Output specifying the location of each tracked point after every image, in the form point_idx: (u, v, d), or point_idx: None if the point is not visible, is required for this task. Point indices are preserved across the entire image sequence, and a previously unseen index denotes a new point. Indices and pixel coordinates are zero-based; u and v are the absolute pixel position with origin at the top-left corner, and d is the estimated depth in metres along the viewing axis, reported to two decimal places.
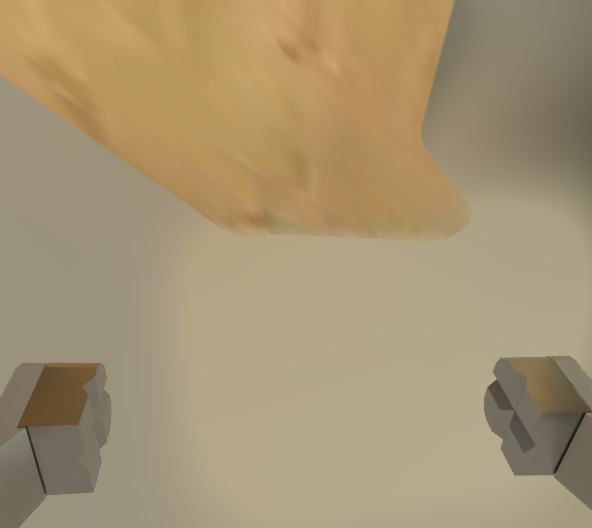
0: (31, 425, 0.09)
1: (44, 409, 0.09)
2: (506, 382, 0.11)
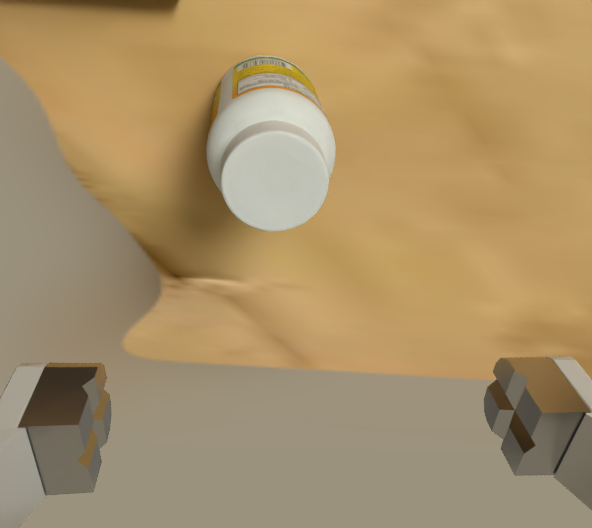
0: (31, 425, 0.09)
1: (44, 409, 0.09)
2: (506, 382, 0.11)
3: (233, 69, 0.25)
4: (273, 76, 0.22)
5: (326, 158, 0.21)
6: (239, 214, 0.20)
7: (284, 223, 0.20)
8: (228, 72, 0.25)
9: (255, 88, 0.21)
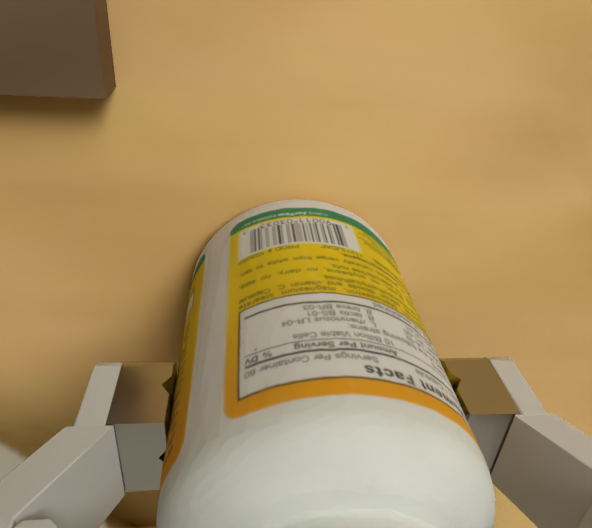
0: (118, 423, 0.09)
1: (128, 407, 0.09)
2: None
3: (230, 239, 0.12)
4: (329, 311, 0.09)
5: None
6: None
7: None
8: (220, 238, 0.12)
9: (288, 387, 0.07)
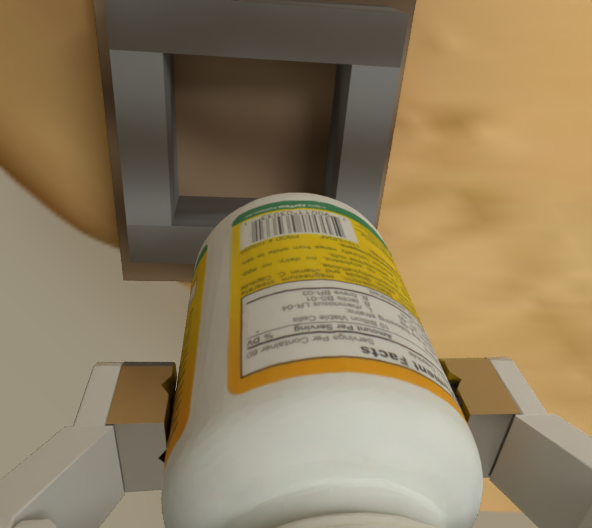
0: (117, 423, 0.09)
1: (128, 407, 0.09)
2: None
3: (232, 229, 0.12)
4: (328, 297, 0.09)
5: None
6: None
7: None
8: (221, 229, 0.12)
9: (289, 366, 0.08)
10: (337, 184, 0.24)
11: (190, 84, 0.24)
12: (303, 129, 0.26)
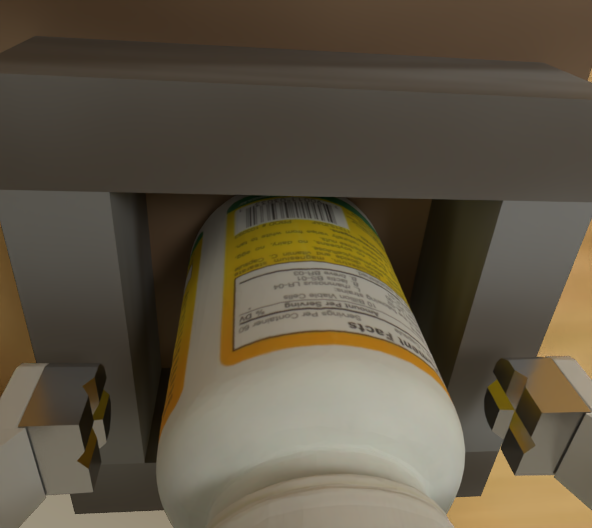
0: (31, 425, 0.09)
1: (44, 409, 0.09)
2: (506, 382, 0.11)
3: (227, 216, 0.12)
4: (318, 277, 0.09)
5: (449, 497, 0.09)
6: None
7: None
8: (217, 216, 0.13)
9: (279, 339, 0.08)
10: None
11: (175, 204, 0.14)
12: None
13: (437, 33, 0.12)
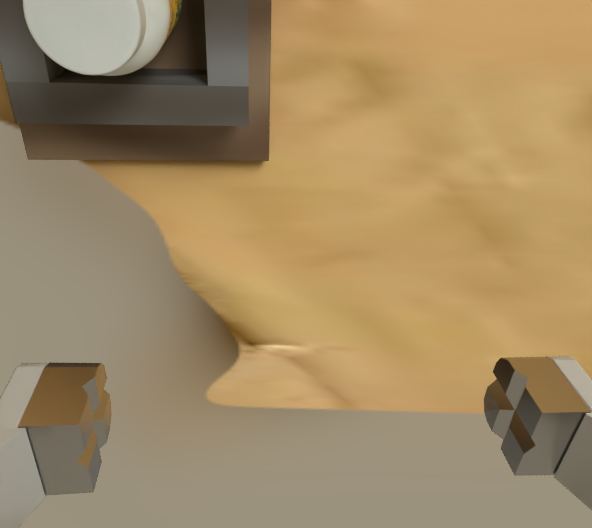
0: (31, 425, 0.09)
1: (44, 409, 0.09)
2: (506, 382, 0.11)
3: None
4: None
5: (153, 5, 0.20)
6: (50, 53, 0.19)
7: (100, 65, 0.19)
8: None
9: None
10: (206, 35, 0.25)
11: None
12: None
13: None
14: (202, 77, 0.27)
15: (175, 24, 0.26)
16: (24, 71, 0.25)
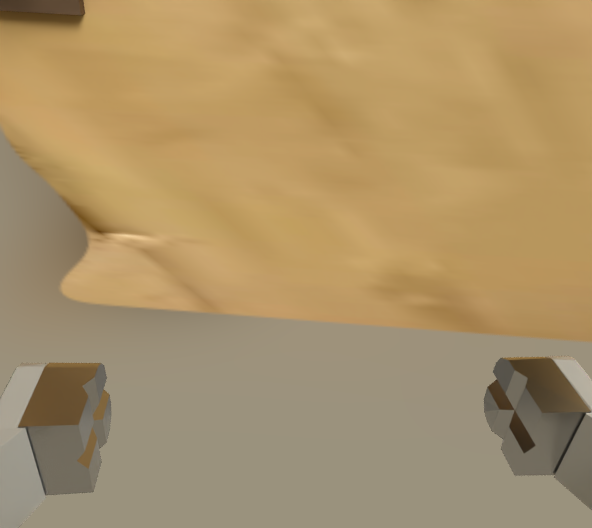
0: (31, 425, 0.09)
1: (44, 409, 0.09)
2: (506, 382, 0.11)
3: None
4: None
5: None
6: None
7: None
8: None
9: None
10: None
11: None
12: None
13: None
14: None
15: None
16: None
